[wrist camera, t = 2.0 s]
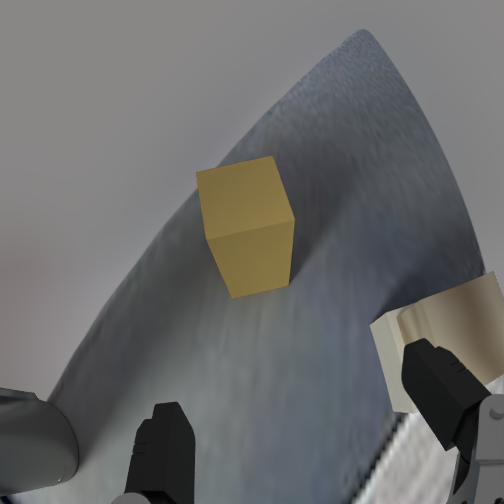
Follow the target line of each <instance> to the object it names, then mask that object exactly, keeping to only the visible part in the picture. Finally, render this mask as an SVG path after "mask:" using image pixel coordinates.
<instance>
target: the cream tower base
mask: <svg viewBox="0 0 504 504" xmlns="http://www.w3.org/2000/svg"><path fill="white" fill-rule="evenodd" d="M416 303H417V302H416ZM416 303H413V304H410V305H407V306H404V307H402V308H399V309H396V310H393V311H390V312H387V313H385V314H384V315H382V316H381V317H380V318H379V319H377V320H376V321H375V322H373V323H372V324H371V325H370V328H371V331H372V334H373V337H374V341H375V344H376V348H377V351H378V355H379V358H380V362H381V365H382V369H383V373H384V376H385V380H386V384H387V388H388V392H389V396H390V400H391V404H392V408H393V411H396V412H405V413H416V412H418V411H419V410H418V409H417V407H416V406H415V404H414V403H413V401H412V400H411V398H410V397H409V396H408V394H407V393H406V391H405V390H404V387H403V385H402V381H401V371H402V362H403V353H404V347H405V345H404V342H403V338H402V335H401V332H400V329H399V325H398V322H397V319H396V317H398V316H399V315H400V314H402V313H403V312H405V311H406V310H407V309H409V308H410V307H412V306H413V305H414V304H416Z"/></svg>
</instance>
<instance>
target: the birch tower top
mask: <svg viewBox="0 0 504 504" xmlns="http://www.w3.org/2000/svg"><path fill="white" fill-rule="evenodd" d="M396 319H397V322H398V325H399V329H400V332H401V335H402V338H403V342H404V345H407V344H409V343H412V342H414V341H417V340H419V339H422V338H426V339H427V340H428V341H429V342H430V343H431V344H432V345H433V346H434V347H435V348H436V347H438V346H441V347H443V348H445V349H447V350H449V351H451V352H452V353H453V354H454V355H455V356H456V357H457V358H458V359H459V360H460V362H462V363H463V364H464V365H465V366H466V369H469V370H470V371H471V373H472V374H473V375H474V376H475V377H476V378H477V379H478V380H479V381H480V382H481V383H482V384H483V385H484V386H485V385H487V384H488V383H490V382H492V381H493V380H495V379H496V378H498V377H499V376H501V375H502V374H504V299H503V296H502V293H501V290H500V288H499V285H498V282H497V280H496V277H495V275H494V272H493V271H492V272H490V273H488V274H485V275H483V276H481V277H478V278H476V279H473V280H471V281H468V282H466V283H463V284H461V285H458V286H456V287H453V288H451V289H448V290H446V291H443V292H440V293H438V294H435V295H432V296H429V297H427V298H424V299H421V300H420V301H418V302H417V303H416V304H414V305H413V306H412V307H410V308H409V309H407V310H406V311H405V312H403V313H402V314H400V315H399V316H398V317H396Z"/></svg>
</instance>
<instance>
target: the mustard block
mask: <svg viewBox="0 0 504 504" xmlns="http://www.w3.org/2000/svg"><path fill="white" fill-rule="evenodd" d="M196 177H197V184H198V190H199V197H200V204H201V210H202V217H203V223H204V229H205V235H206V240H207V243H208V245H209V247H210V250H211V252H212V254H213V256H214V259H215V261H216V263H217V266H218V268H219V270H220V272H221V275H222V277H223V279H224V281H225V284H226V286H227V288H228V290H229V293H230V295H231V297H232V299H234V298H239V297H243V296H247V295H252V294H256V293H260V292H265V291H269V290H273V289H278V288H282V287H286V286H288V285H289V276H290V266H291V256H292V246H293V236H294V225H295V218H294V216H293V213H292V210H291V207H290V204H289V201H288V198H287V195H286V192H285V189H284V186H283V184H282V181H281V178H280V175H279V172H278V169H277V167H276V164H275V161H274V158H273V156H269V157H264V158H259V159H254V160H249V161H244V162H239V163H235V164H230V165H226V166H221V167H217V168H213V169H209V170H204V171H200V172H196Z"/></svg>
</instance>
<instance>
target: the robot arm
mask: <svg viewBox="0 0 504 504" xmlns="http://www.w3.org/2000/svg"><path fill="white" fill-rule="evenodd" d="M401 381H402V385H403V387H404V390H405V391H406V393H407V394H408V396H409V397H410V398H411V400H412V401H413V403H414V404H415V406H416V407H417V409H418V410H419V412H420V413H421V415H422V416H423V418H424V419H425V421H426V422H427V424H428V425H429V427H430V428H431V430H432V431H433V433H434V434H435V436H436V437H437V439H438V440H439V442H440V443H441V445H442V446H443V448H444V449H445V451H448V450H449V449H451V448H453V447H455V446H456V447H457V448H458V450H459V452H458V454H457V460H456V465H455V471H454V476H453V481H452V485H451V490H450V494H449V498H448V501H447V503H446V504H504V395H503V394H494V395H492V394H491V393H490V392H489V391H488V390H487V389H486V388H485V386H484V385H483V384H482V383H481V382H480V381H479V380H478V379H477V378H476V377H475V376H474V375H473V374H472V373H471V371H470V370H469V369H466V366H465V365H464V364H463V363H462V362H460V360H459V359H458V358H457V357H456V356H455V355H454V354H453V353H452V352H451V351H449V350H447V349H445V348H443V347H441V346H438V347H436V348H435V347H434V346H433V345H432V344H431V343H430V342H429V341H428V340H427V339H426V338H422V339H419V340H417V341H414V342H412V343H409V344H407V345H405V347H404V353H403V362H402V371H401ZM134 443H135V445H134V447H133V451H132V453H133V455H132V456H131V461H130V466H129V472H128V477H127V482H126V488H125V492H124V494H122V495H120V496H118V497H117V498H116V499H114V501H113V502H112V503H111V504H194V478H195V435H194V432H193V429H192V427H191V425H190V423H189V421H188V419H187V418H186V416H185V414H184V412H183V410H182V408H181V406H180V405H179V403H178V402H169V403H160V404H156V405H155V406H154V411H153V416H152V419H145V420H144V421H143V422H142V424H141V425H140V427H139V428H138V430H137V433H136V437H135V442H134ZM77 465H78V448H77V443H76V439H75V436H74V434H73V431H72V429H71V427H70V425H69V423H68V422H67V420H66V418H65V417H64V416H63V415H62V413H61V412H60V411H59V410H58V409H56V408H55V407H54V406H53V405H51V404H49V403H48V402H45V401H42V400H39V399H38V398H37V396H36V395H35V393H31V392H24V391H18V390H11V389H5V388H0V496H4V495H10V494H16V493H21V492H26V491H31V490H35V489H40V488H44V487H49V486H54V485H57V484H60V483H63V482H66V481H68V480H69V479H70V478H71V477H72V476H73V475H74V473H75V471H76V468H77Z"/></svg>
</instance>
